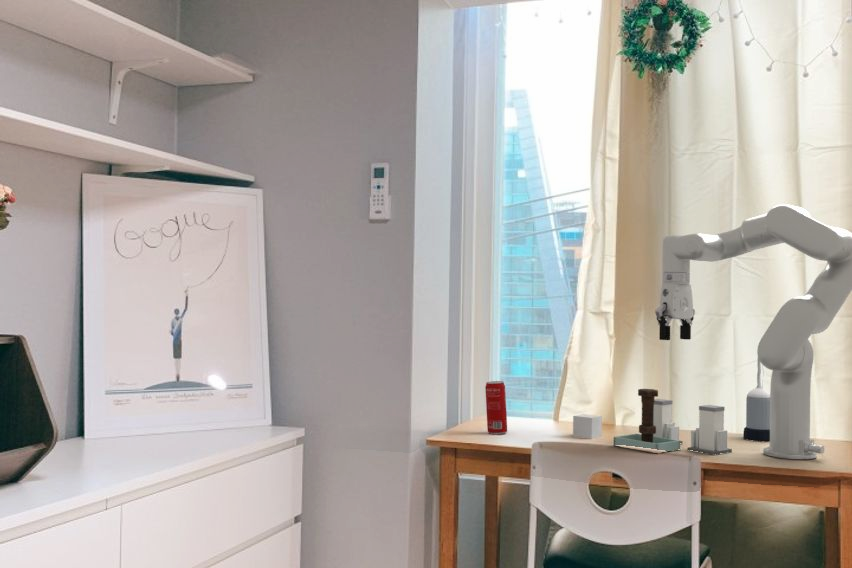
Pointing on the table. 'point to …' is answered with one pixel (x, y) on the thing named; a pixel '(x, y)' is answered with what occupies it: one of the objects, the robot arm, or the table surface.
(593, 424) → the light grey cube
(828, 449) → the table surface
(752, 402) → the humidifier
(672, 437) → the block
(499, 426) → the beverage can
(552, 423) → the table surface
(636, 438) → the tray
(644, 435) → the bolt
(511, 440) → the table surface
